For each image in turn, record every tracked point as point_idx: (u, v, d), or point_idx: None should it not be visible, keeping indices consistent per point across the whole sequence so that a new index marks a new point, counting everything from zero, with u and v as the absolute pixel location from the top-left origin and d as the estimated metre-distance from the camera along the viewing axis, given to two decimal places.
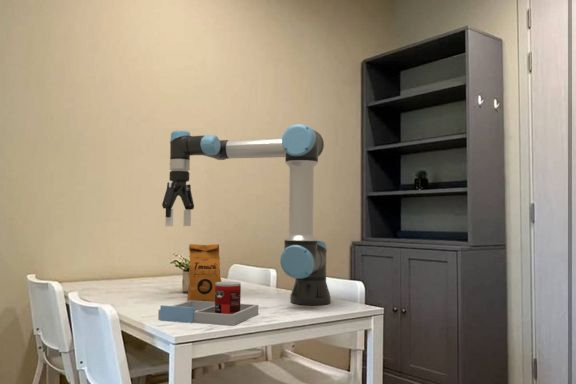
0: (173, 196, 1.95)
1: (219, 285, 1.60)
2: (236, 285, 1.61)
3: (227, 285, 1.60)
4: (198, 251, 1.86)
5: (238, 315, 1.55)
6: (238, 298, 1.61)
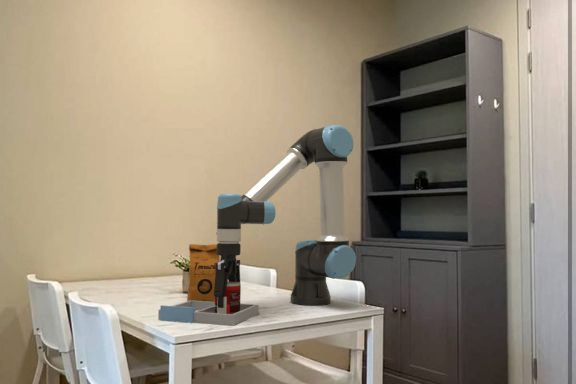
0: (224, 279, 1.60)
1: None
2: (236, 285, 1.61)
3: (227, 285, 1.60)
4: (198, 251, 1.86)
5: (238, 315, 1.55)
6: (238, 298, 1.61)
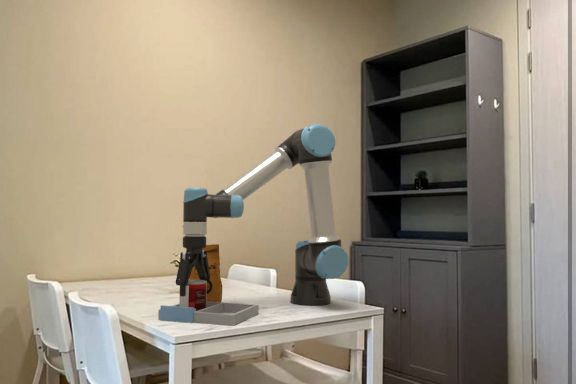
0: (188, 269, 1.63)
1: None
2: (201, 283, 1.65)
3: (192, 283, 1.63)
4: None
5: (238, 315, 1.55)
6: (203, 296, 1.65)
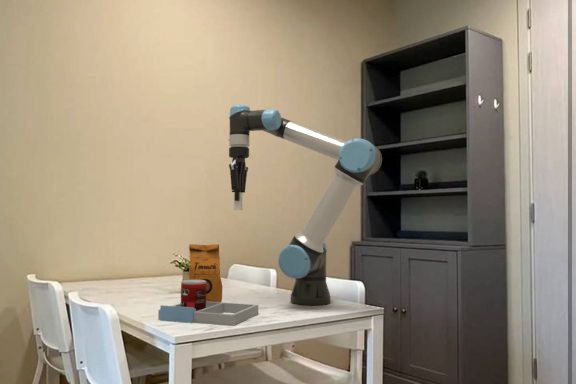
0: (238, 177, 1.93)
1: (184, 283, 1.64)
2: (201, 283, 1.65)
3: (192, 283, 1.63)
4: (198, 251, 1.86)
5: (238, 315, 1.55)
6: (203, 296, 1.65)
